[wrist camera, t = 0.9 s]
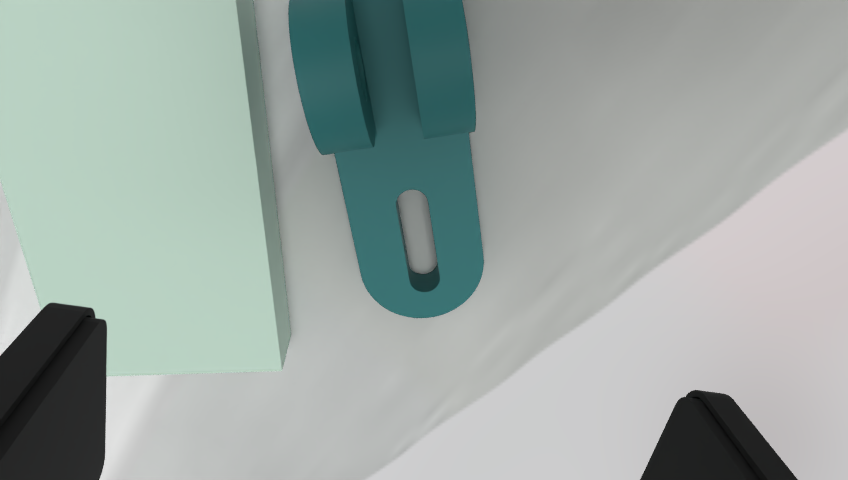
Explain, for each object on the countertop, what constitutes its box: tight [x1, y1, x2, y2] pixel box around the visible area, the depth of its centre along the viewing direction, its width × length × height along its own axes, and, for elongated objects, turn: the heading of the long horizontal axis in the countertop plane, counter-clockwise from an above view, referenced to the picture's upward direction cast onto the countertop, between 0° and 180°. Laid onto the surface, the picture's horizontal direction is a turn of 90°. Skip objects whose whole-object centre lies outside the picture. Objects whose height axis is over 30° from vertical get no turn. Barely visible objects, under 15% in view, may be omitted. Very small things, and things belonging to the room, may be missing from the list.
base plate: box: [0, 0, 291, 376], centre depth 32 cm, size 12×22×4 cm, turn 0°
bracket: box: [288, 0, 484, 318], centre depth 31 cm, size 18×7×8 cm, turn 8°
